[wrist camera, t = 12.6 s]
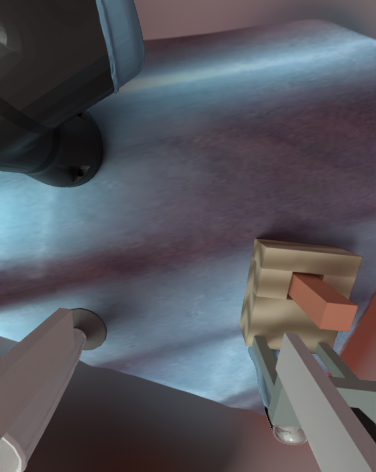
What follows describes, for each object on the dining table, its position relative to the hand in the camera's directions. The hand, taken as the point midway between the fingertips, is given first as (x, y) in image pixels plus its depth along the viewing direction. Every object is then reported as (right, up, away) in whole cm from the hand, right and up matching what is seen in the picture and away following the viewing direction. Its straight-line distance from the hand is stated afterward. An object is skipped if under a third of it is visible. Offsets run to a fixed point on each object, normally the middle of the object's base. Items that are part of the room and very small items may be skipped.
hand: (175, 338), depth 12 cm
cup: (-24, -16, +32) cm, 43 cm away
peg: (+21, -1, +27) cm, 34 cm away
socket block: (+21, -5, +28) cm, 35 cm away
